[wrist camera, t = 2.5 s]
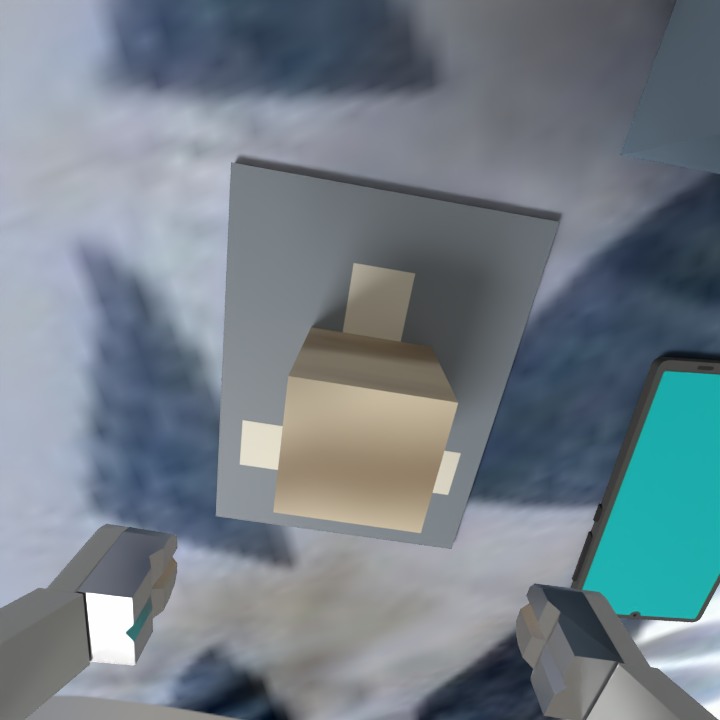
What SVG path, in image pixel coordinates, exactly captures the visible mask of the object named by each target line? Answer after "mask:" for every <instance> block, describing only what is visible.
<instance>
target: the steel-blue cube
mask: <svg viewBox="0 0 720 720" xmlns="http://www.w3.org/2000/svg"><path fill="white" fill-rule="evenodd" d="M621 155H622V156H627V157H633V158H638V159H643V160H648V161H654V162H659V163H664V164H669V165H675V166H680V167H685V168H690V169H696V170H701V171H706V172H711V173H717V174H720V0H676V3H675V6H674V9H673V11H672V14H671V17H670V20H669V22H668V25H667V28H666V31H665V33H664V36H663V39H662V42H661V44H660V47H659V50H658V53H657V55H656V58H655V61H654V64H653V67H652V69H651V72H650V75H649V78H648V80H647V83H646V86H645V89H644V91H643V94H642V97H641V100H640V102H639V105H638V108H637V111H636V113H635V116H634V119H633V122H632V124H631V127H630V130H629V133H628V135H627V138H626V141H625V144H624V147H623V149H622V152H621Z"/></svg>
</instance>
